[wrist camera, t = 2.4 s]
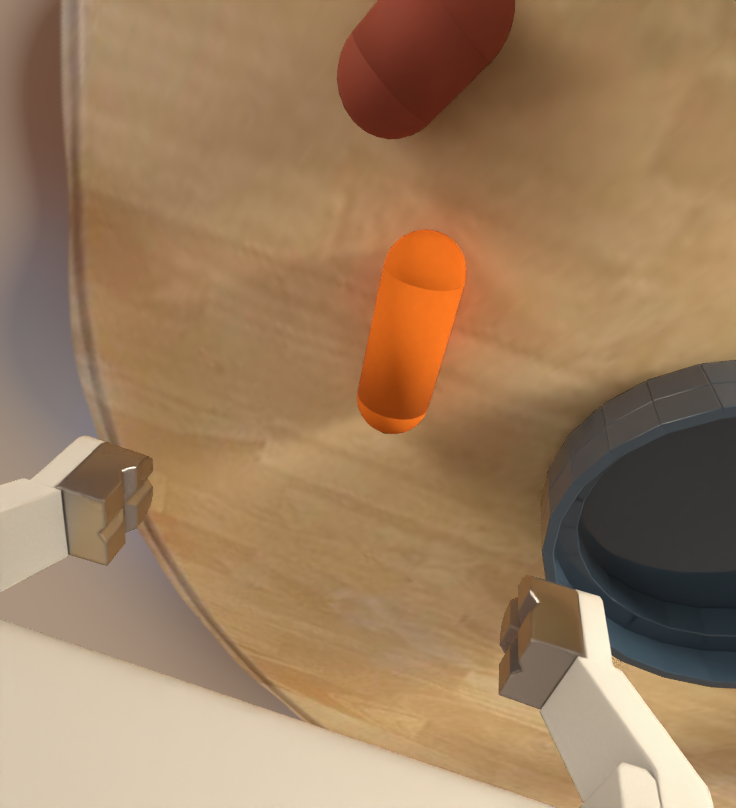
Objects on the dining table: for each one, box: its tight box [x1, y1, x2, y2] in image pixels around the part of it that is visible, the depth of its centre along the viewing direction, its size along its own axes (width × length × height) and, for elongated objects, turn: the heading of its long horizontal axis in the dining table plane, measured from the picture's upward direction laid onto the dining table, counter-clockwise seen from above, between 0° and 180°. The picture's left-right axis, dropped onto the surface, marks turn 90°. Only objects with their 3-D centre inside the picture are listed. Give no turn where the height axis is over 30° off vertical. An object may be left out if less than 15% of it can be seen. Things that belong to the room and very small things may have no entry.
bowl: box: [541, 360, 736, 689], centre depth 31 cm, size 19×19×5 cm
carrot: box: [357, 230, 466, 434], centre depth 31 cm, size 12×4×4 cm, turn 169°
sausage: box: [337, 0, 515, 139], centre depth 23 cm, size 8×5×5 cm, turn 134°
